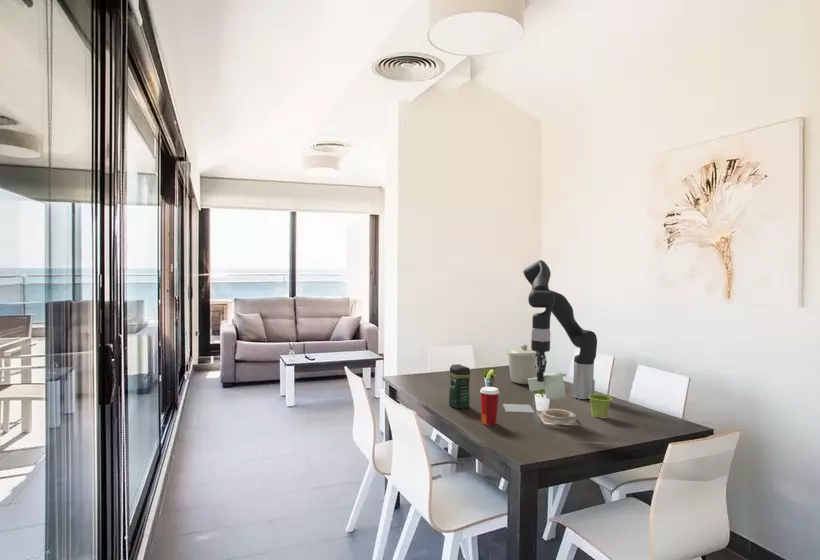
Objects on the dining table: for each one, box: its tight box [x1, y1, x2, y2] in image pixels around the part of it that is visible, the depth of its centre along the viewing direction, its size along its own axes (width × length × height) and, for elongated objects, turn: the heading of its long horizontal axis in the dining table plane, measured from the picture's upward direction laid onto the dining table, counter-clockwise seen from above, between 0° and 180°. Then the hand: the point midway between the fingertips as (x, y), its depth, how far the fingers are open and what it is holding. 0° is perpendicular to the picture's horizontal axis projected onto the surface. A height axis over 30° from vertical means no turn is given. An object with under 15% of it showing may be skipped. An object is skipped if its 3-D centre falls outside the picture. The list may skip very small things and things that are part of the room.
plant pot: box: [588, 394, 613, 418], centre depth 212 cm, size 9×9×9 cm
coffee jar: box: [448, 363, 471, 410], centre depth 224 cm, size 10×8×19 cm
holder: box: [537, 408, 580, 426], centre depth 206 cm, size 14×14×3 cm
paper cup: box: [479, 386, 500, 426], centre depth 200 cm, size 8×8×14 cm
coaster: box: [502, 403, 536, 414], centre depth 221 cm, size 12×12×1 cm
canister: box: [507, 343, 537, 385], centre depth 274 cm, size 18×18×21 cm
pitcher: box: [527, 371, 567, 400], centre depth 206 cm, size 15×8×9 cm, turn 87°
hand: (539, 380), depth 206 cm, fingers closed on pitcher, 1 cm apart
